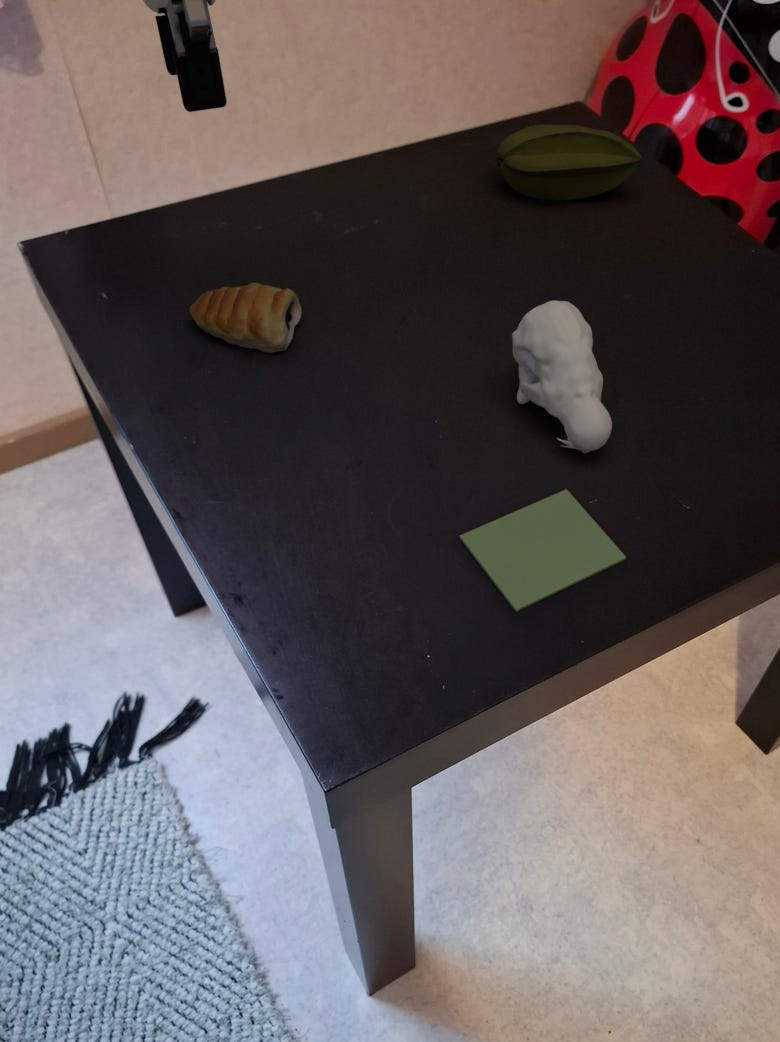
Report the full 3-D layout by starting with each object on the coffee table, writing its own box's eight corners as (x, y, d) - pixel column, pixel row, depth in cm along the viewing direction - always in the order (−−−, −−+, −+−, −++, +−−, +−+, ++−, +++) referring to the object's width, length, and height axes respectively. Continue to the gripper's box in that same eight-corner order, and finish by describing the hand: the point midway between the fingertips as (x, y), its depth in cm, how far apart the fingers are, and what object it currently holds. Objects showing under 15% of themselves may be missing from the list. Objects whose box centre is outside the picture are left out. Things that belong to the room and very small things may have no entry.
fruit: (556, 151, 101) (564, 88, 96) (638, 197, 97) (652, 134, 92) (484, 187, 96) (488, 123, 91) (568, 238, 92) (577, 174, 87)
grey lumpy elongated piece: (582, 281, 74) (650, 386, 69) (563, 360, 81) (624, 460, 76) (511, 297, 72) (575, 406, 67) (499, 376, 79) (556, 479, 74)
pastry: (183, 344, 80) (174, 306, 77) (207, 297, 84) (198, 260, 81) (288, 358, 80) (283, 320, 76) (307, 311, 83) (302, 274, 80)
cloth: (515, 612, 66) (516, 609, 65) (459, 538, 69) (459, 535, 69) (625, 559, 69) (626, 557, 69) (566, 491, 73) (566, 488, 72)
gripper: (51, -262, 59) (126, 45, 74) (98, -175, 50) (172, 153, 65) (168, -267, 61) (218, 34, 76) (232, -183, 52) (274, 137, 67)
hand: (196, 86), depth 70 cm, fingers open, 5 cm apart
